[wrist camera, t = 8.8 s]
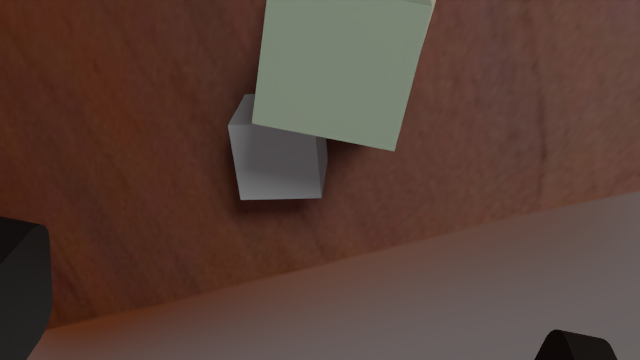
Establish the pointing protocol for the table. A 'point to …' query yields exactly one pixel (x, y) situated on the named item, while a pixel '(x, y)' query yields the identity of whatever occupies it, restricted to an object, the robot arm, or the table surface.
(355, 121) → the green cube
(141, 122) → the table surface
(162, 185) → the table surface
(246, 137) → the grey block
